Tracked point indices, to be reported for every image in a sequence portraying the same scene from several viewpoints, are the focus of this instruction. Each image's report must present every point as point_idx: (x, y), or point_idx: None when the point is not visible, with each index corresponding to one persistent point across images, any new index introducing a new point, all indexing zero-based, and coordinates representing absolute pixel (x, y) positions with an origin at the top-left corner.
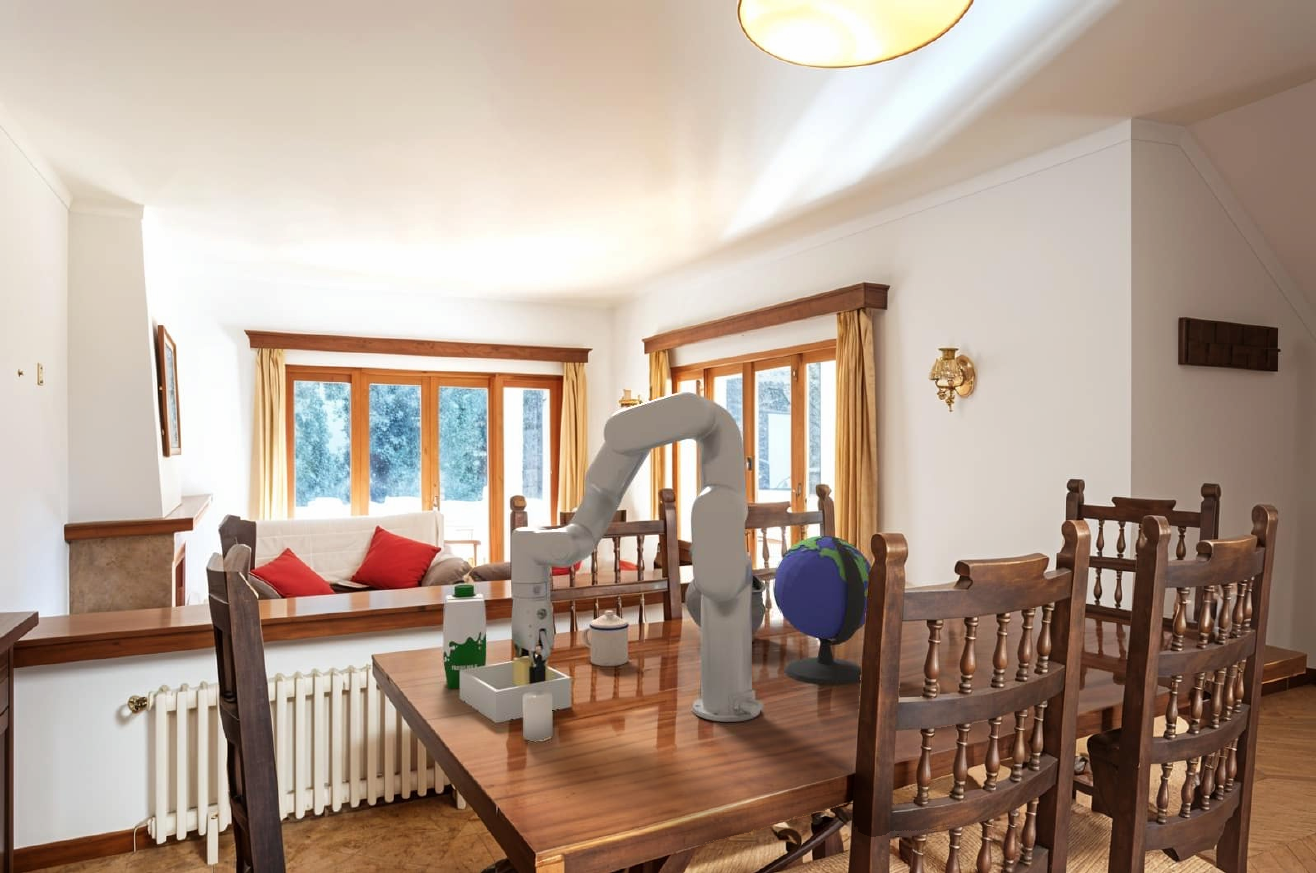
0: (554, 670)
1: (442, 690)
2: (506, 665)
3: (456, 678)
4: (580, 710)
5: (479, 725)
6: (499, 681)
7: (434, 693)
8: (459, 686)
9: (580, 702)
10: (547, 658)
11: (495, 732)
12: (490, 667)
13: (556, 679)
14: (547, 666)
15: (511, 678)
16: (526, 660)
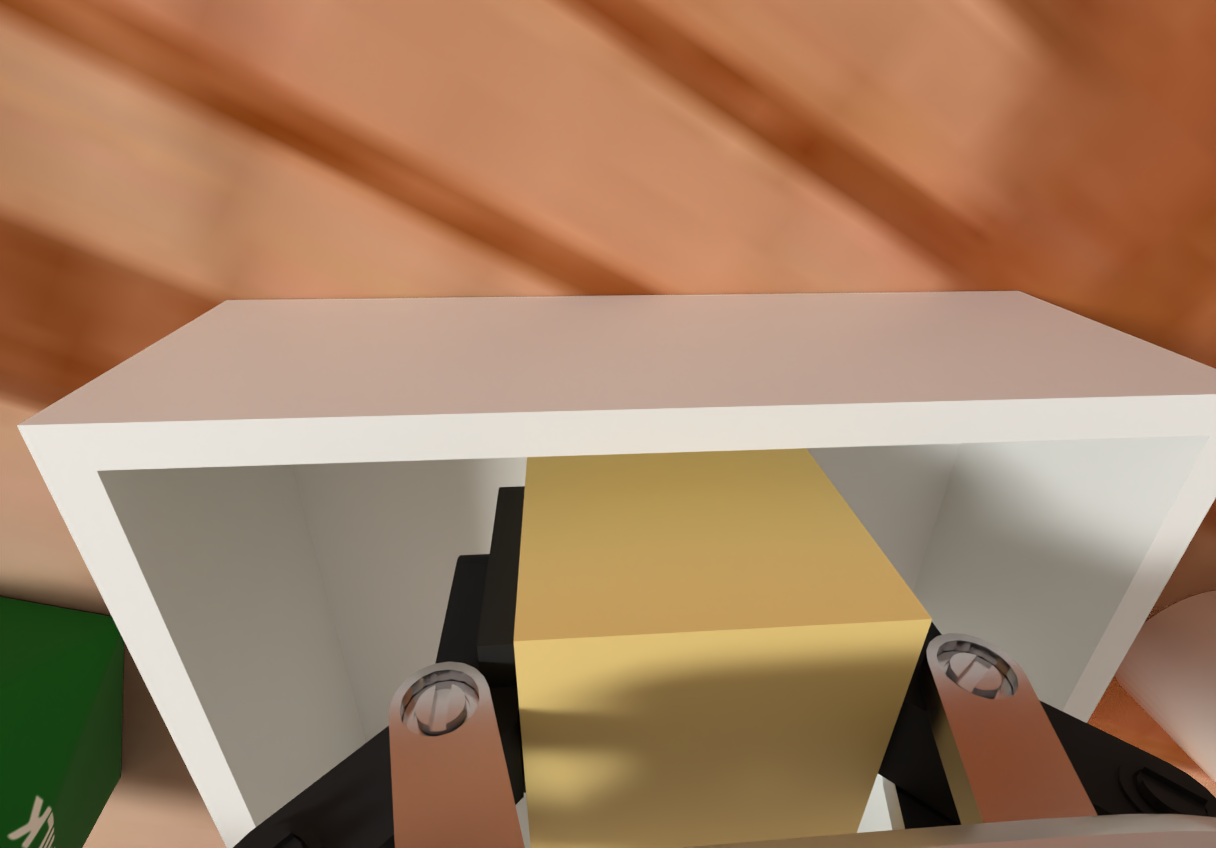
0: (873, 425)
1: (133, 795)
2: (219, 696)
3: (91, 819)
4: (1134, 267)
5: None
6: (303, 632)
7: (185, 829)
8: (117, 742)
9: (995, 155)
10: (1189, 777)
11: None
12: (265, 819)
13: (1162, 549)
14: (879, 554)
15: (274, 548)
16: (737, 811)
